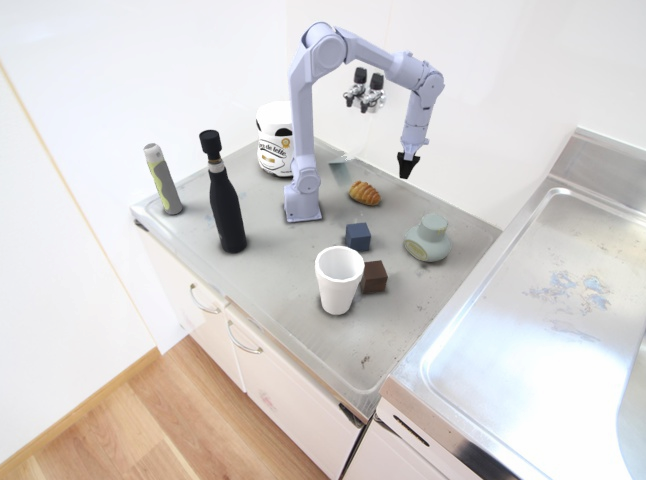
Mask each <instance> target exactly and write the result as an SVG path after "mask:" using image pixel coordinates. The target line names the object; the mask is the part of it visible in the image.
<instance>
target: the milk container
mask: <svg viewBox="0 0 646 480" xmlns="http://www.w3.org/2000/svg"><path fill="white" fill-rule="evenodd" d="M255 122H256V123H255V125H256V131H257V137H258V138H257V139H258V144H257V145H258V146H257V154H256V155H257V160H258V163H259V166H260V168H261V170H262V171H264V172H265V173H266V174H268V175H271V176H274V177H278V178H279V177H280V178H288V177H289V178H290V177H294V176H293V173H292V171H291V169H290V162H291V160H292V157H293V153H292V152H293V151H294V146H293V134H292V122H291V110H290V100H288V101H287V100H281V101H272V102H269V103H266V104H263V105H261V106H260V107H259V108H258V109H257V111H256V114H255Z"/></svg>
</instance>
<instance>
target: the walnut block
mask: <svg viewBox="0 0 646 480" xmlns="http://www.w3.org/2000/svg"><path fill="white" fill-rule="evenodd" d="M364 265H365V267H364V272H363V276H362V279H361V281H360V282H359V285H360V288H361V289H360V290H361V292H362V294H363V295H365V294H370V293H371V294H372V293H379V292H385V291H386V287H387V283H388V279H389V276H388V273H387V271H386V268H385V265H384V263H383V261H382V259H380V260H372V261H371V260H370V261H364Z"/></svg>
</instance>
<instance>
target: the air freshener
mask: <svg viewBox="0 0 646 480" xmlns="http://www.w3.org/2000/svg"><path fill="white" fill-rule="evenodd" d="M448 226H449V222H448V220H447V219H446V217H445V216H443V215H442V214H439V213H434V212H431V213H426V214H424V215H423V216H422V217H421V219H420V223H419V224H417V225H415V226H413V227H411V228H410V229H409V230H407V231H406V233H405V235H404V241H403V242H404V247H405V248H406V250H407V251H408V253H410V254H411V255H412V256H413V257H414V258H416V259H417V260H420V261H423V262H428V263H429V262H430V263H431V262H432V263H433V262H438V261H441V260H443V259H445V258H446V257H448V255H449V254H450V252H451V250H452V240H451V238H450V236H449V235H448V233H447V229H448Z"/></svg>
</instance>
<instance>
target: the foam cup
mask: <svg viewBox="0 0 646 480" xmlns="http://www.w3.org/2000/svg"><path fill="white" fill-rule="evenodd" d="M364 262H365V261H364V258H363V257H362V255H361V254H360V253H359V251H358V252H357V251H355V250H353V249H350V248H348V246H342V245H334V246H329V247H325V248H324V249H323V250H322V251H319V252H318V254H317V256H316V258H315V261H314V271H315V279H316V280H317V285H318V289H319V290H318V291H319V296H320V301H321V306H322V308H323V309H324V311H325V312H327V313H328V314H331V315H333V316H334V315H335V316H339V315H342V314H345V313H347V312H348V311H349V309H350V308H351V305H352V302H353V300H354V298H355V294H356V292H357V289H358V286H359V285H360V283H359V282H360V281H361V279H362V276H363V272H364V267H365V265H364Z"/></svg>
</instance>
